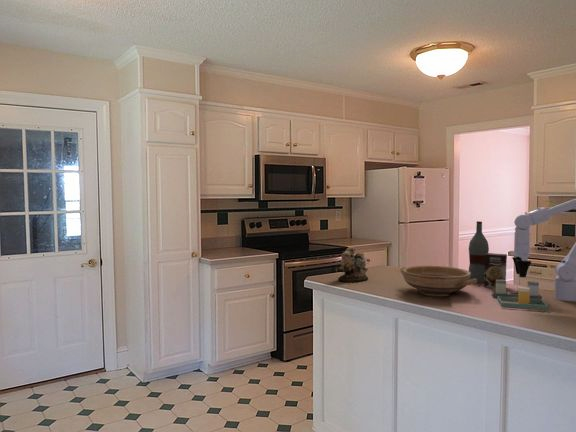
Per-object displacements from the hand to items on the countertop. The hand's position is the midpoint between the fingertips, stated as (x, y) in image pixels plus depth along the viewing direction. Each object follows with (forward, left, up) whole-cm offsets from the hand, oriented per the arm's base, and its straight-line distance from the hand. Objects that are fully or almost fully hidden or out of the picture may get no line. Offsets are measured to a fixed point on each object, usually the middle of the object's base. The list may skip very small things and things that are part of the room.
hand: (521, 275), depth 195 cm
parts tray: (+2, +18, -9) cm, 20 cm away
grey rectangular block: (-4, +6, -8) cm, 11 cm away
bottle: (+14, -30, -10) cm, 34 cm away
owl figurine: (+74, -17, -10) cm, 77 cm away
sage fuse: (+8, +6, -8) cm, 13 cm away
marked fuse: (+2, +18, -9) cm, 20 cm away
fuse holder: (+2, +6, -9) cm, 11 cm away
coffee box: (+8, -16, -10) cm, 20 cm away
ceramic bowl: (+34, +2, -10) cm, 35 cm away
